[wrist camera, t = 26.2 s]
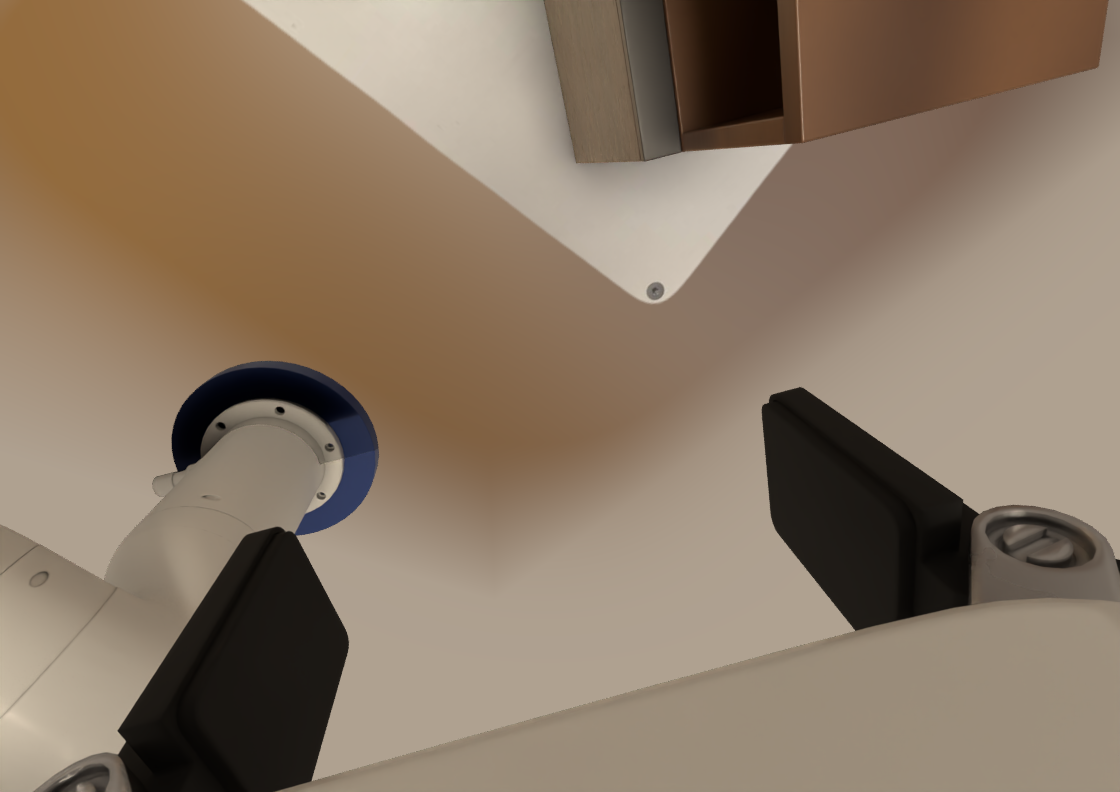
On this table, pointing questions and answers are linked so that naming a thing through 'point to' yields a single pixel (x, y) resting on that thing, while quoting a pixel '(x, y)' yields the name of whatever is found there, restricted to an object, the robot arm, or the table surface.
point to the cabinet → (795, 65)
